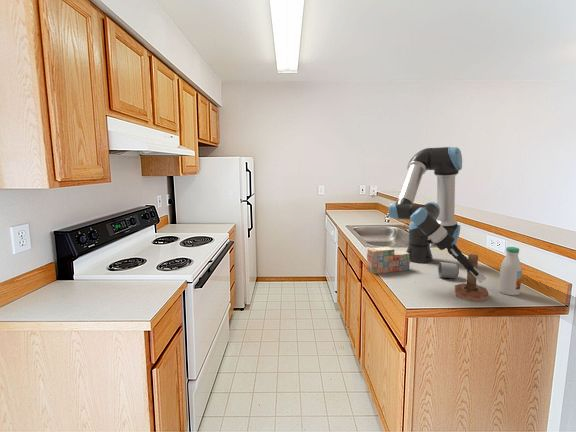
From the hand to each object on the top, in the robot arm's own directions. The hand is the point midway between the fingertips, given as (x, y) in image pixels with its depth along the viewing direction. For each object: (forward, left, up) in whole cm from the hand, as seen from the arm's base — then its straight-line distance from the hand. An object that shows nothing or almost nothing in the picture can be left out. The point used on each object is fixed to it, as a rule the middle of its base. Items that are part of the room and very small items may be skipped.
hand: (482, 278), depth 144 cm
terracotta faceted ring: (0, -4, -8) cm, 9 cm away
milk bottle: (-8, +12, -8) cm, 17 cm away
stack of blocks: (-25, -39, -8) cm, 47 cm away
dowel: (0, -4, -6) cm, 7 cm away
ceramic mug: (-23, -11, -8) cm, 27 cm away
